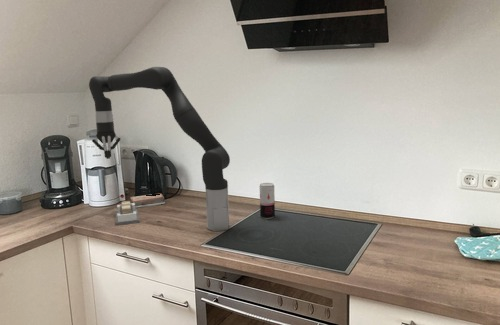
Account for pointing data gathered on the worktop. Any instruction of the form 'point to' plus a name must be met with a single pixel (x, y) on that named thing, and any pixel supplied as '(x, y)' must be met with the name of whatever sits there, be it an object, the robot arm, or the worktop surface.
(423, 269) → the worktop surface
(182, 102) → the robot arm
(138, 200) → the packaged product
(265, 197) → the beverage can
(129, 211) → the slat
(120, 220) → the board
